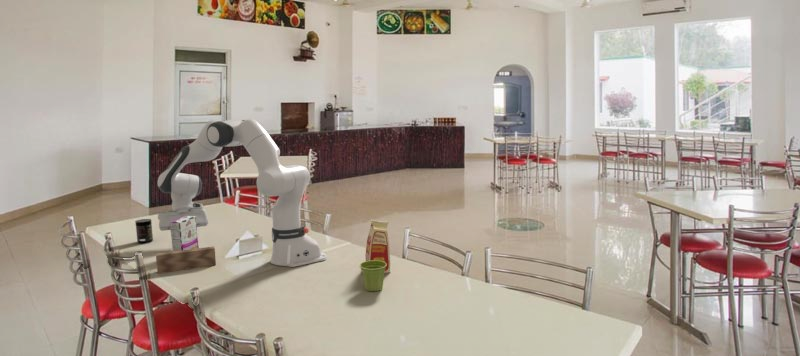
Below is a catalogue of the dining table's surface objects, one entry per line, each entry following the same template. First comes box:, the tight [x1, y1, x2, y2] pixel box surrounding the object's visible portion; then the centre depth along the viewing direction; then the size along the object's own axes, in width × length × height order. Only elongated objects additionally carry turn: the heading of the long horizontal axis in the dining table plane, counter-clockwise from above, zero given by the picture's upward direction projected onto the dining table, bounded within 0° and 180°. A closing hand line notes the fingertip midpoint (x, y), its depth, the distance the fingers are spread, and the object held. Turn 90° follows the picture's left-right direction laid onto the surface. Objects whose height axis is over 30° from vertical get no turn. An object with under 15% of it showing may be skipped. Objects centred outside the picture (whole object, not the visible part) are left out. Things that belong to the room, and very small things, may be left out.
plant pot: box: [358, 260, 387, 292], centre depth 166 cm, size 9×9×9 cm
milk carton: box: [365, 219, 391, 274], centre depth 184 cm, size 9×9×20 cm
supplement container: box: [135, 218, 154, 244], centre depth 226 cm, size 7×7×10 cm
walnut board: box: [155, 246, 217, 274], centre depth 189 cm, size 21×3×7 cm, turn 115°
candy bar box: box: [170, 216, 200, 252], centre depth 204 cm, size 11×5×16 cm, turn 168°
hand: (185, 235), depth 214 cm, fingers closed
